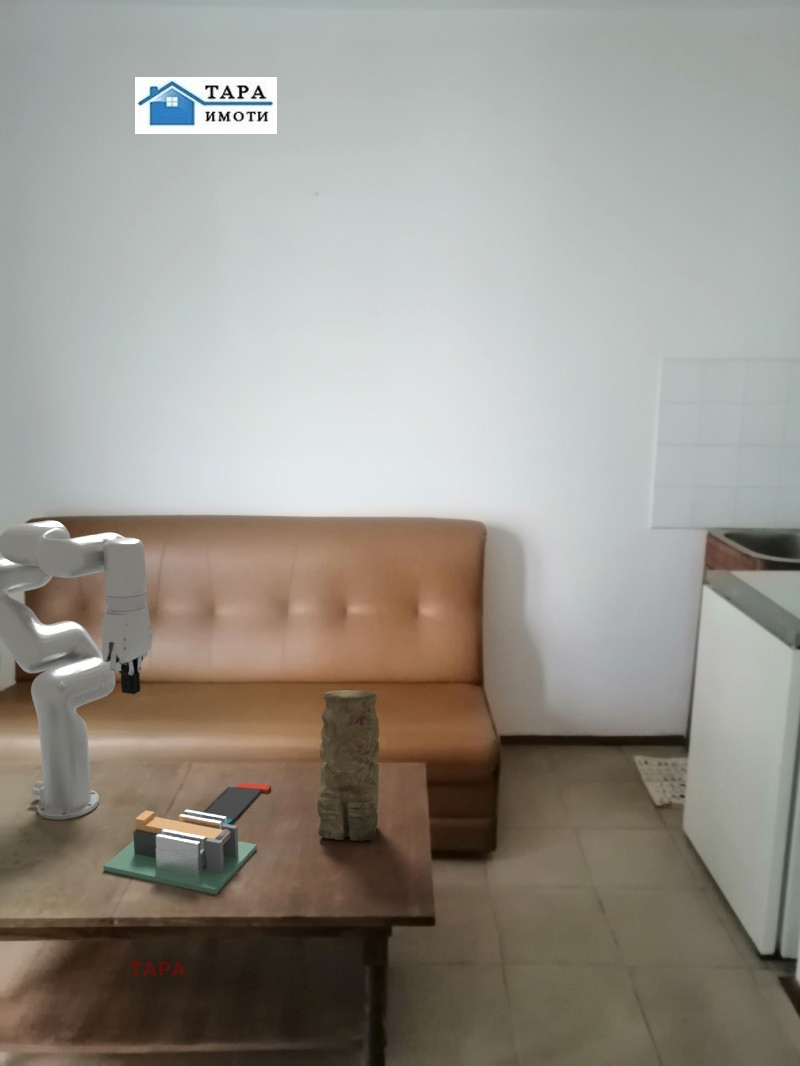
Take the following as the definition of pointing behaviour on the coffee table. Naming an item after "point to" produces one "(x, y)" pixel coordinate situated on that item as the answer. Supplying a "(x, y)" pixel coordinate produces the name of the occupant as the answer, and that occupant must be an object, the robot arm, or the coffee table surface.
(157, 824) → the tan long bar
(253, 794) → the gaming console
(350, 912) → the coffee table surface
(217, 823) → the heat sink
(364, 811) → the sculpture
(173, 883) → the board
